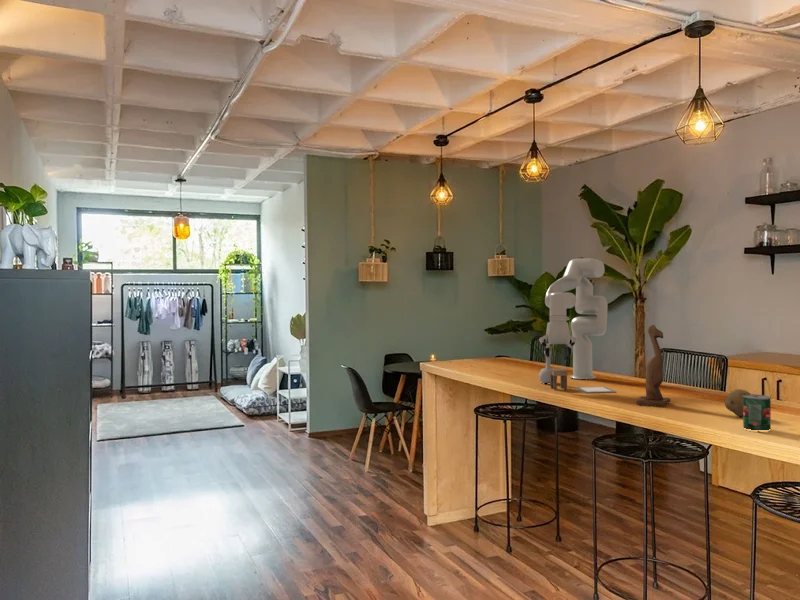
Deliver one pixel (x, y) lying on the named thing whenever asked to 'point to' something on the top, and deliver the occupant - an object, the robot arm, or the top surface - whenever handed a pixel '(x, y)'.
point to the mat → (595, 389)
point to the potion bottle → (546, 370)
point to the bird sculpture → (654, 373)
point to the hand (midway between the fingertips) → (558, 356)
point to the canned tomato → (756, 412)
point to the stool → (563, 377)
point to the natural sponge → (736, 401)
